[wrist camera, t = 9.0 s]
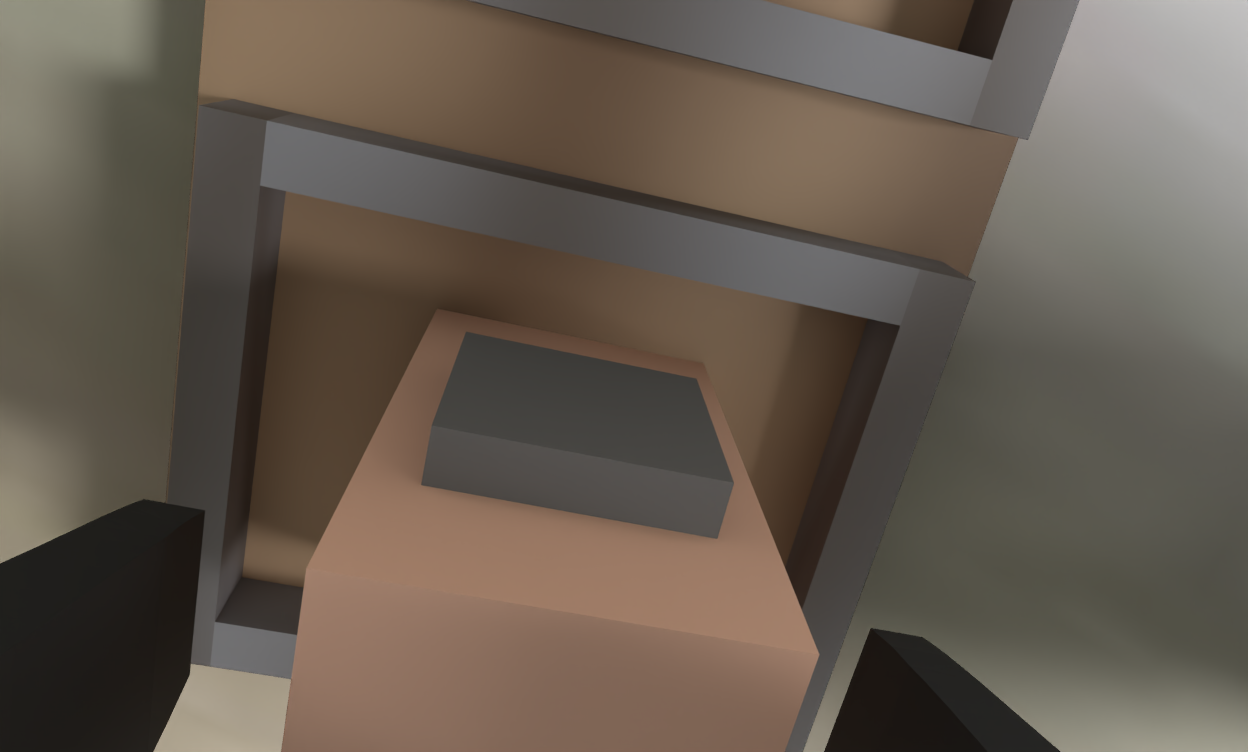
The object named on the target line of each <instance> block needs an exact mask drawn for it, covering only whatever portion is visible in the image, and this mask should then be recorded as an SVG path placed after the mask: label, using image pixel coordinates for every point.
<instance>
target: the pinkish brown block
mask: <svg viewBox="0 0 1248 752" xmlns="http://www.w3.org/2000/svg"><path fill="white" fill-rule="evenodd" d="M818 657H819V652H818V650H817V647H816V645H815V642H814V640H813V637H812V635H811V632H810V630H809V627H808V625H807V622H806V620H805V617H804V615H803V612H802V610H801V607H800V605H799V602H798V599H797V597H796V594H795V592H794V589H793V587H792V584H791V582H790V579H789V577H788V574H787V572H786V569H785V567H784V564H783V562H782V559H781V557H780V554H779V552H778V549H777V547H776V544H775V542H774V539H773V537H772V534H771V532H770V529H769V527H768V524H767V522H766V519H765V517H764V514H763V512H762V509H761V506H760V504H759V501H758V499H757V496H756V494H755V491H754V489H753V486H752V484H751V481H750V479H749V476H748V474H747V471H746V469H745V466H744V464H743V461H742V459H741V456H740V454H739V451H738V449H737V446H736V444H735V441H734V439H733V436H732V434H731V431H730V429H729V426H728V424H727V421H726V419H725V416H724V413H723V411H722V408H721V406H720V403H719V401H718V398H717V396H716V393H715V391H714V388H713V386H712V383H711V381H710V378H709V376H708V373H707V371H706V368H705V366H704V363H699V362H694V361H689V360H684V359H679V358H675V357H670V356H665V355H660V354H655V353H650V352H645V351H641V350H636V349H631V348H626V347H621V346H616V345H611V344H606V343H602V342H597V341H592V340H587V339H582V338H577V337H572V336H568V335H563V334H558V333H553V332H548V331H543V330H538V329H534V328H529V327H524V326H519V325H514V324H509V323H504V322H500V321H495V320H490V319H485V318H480V317H475V316H470V315H466V314H461V313H456V312H451V311H446V310H441V309H437V310H436V312H435V314H434V316H433V318H432V320H431V322H430V324H429V326H428V328H427V330H426V332H425V334H424V336H423V338H422V340H421V342H420V344H419V346H418V348H417V350H416V352H415V354H414V356H413V358H412V359H411V361H410V363H409V365H408V367H407V369H406V371H405V373H404V375H403V377H402V379H401V381H400V383H399V385H398V387H397V389H396V391H395V393H394V395H393V397H392V399H391V401H390V403H389V405H388V407H387V409H386V411H385V413H384V415H383V417H382V419H381V421H380V423H379V425H378V427H377V429H376V431H375V433H374V435H373V437H372V439H371V441H370V443H369V445H368V447H367V449H366V451H365V453H364V455H363V457H362V459H361V461H360V463H359V465H358V467H357V469H356V471H355V473H354V475H353V477H352V479H351V481H350V483H349V485H348V487H347V489H346V491H345V493H344V494H343V496H342V498H341V500H340V502H339V504H338V506H337V508H336V510H335V512H334V514H333V516H332V518H331V520H330V522H329V524H328V526H327V528H326V530H325V532H324V534H323V536H322V538H321V540H320V542H319V544H318V546H317V548H316V550H315V552H314V554H313V556H312V558H311V560H310V562H309V564H308V566H307V568H306V574H305V582H304V589H303V596H302V604H301V611H300V618H299V626H298V633H297V640H296V648H295V655H294V662H293V669H292V677H291V684H290V691H289V699H288V706H287V713H286V721H285V728H284V735H283V743H282V750H281V752H785V749H786V747H787V744H788V741H789V738H790V735H791V733H792V730H793V727H794V724H795V721H796V719H797V716H798V713H799V710H800V707H801V705H802V702H803V699H804V696H805V694H806V691H807V688H808V685H809V682H810V680H811V677H812V674H813V671H814V668H815V666H816V663H817V660H818Z"/></svg>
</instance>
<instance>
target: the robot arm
mask: <svg viewBox="0 0 1248 752" xmlns="http://www.w3.org/2000/svg"><path fill="white" fill-rule="evenodd" d="M204 518H205V510H201V509H196V508H190V507H184V506H179V505H173V504H167V503H162V502H156V501H150V500H145V499H143V500H141V501H138V502H135V503H133V504H130V505H128V506H125V507H123V508H121V509H118V510H116V511H114V512H111V513H109V514H107V515H105V516H103V517H100V518H98V519H96V520H94V521H92V522H89V523H87V524H85V525H83V526H81V527H79V528H77V529H74V530H72V531H70V532H68V533H66V534H64V535H62V536H59V537H57V538H55V539H53V540H51V541H49V542H47V543H44V544H42V545H40V546H38V547H36V548H34V549H31V550H29V551H27V552H25V553H23V554H20V555H18V556H16V557H14V558H12V559H9V560H7V561H5V562H3V563H1V564H0V752H153V751H154V749H155V747H156V745H157V743H158V741H159V739H160V737H161V735H162V733H163V731H164V729H165V727H166V724H167V722H168V720H169V718H170V716H171V714H172V712H173V709H174V707H175V705H176V703H177V701H178V699H179V697H180V694H181V692H182V690H183V688H184V686H185V684H186V682H187V679H188V677H189V675H190V665H191V654H192V644H193V633H194V623H195V613H196V602H197V592H198V581H199V571H200V560H201V550H202V539H203V529H204ZM824 752H1060V751H1059V750H1058V749H1057V748H1056V747H1055V746H1053V745H1052V744H1051V743H1050V742H1049V741H1047V740H1046V739H1045V738H1044V737H1043V736H1042V735H1041V734H1039V733H1038V732H1037V731H1036V730H1035V729H1034V728H1032V727H1031V726H1030V725H1029V724H1028V723H1027V722H1025V721H1024V720H1023V719H1022V718H1021V717H1020V716H1019V715H1017V714H1016V713H1015V712H1014V711H1013V710H1012V709H1010V708H1009V707H1008V706H1007V705H1006V704H1005V703H1004V702H1002V701H1001V700H1000V699H999V698H998V697H997V696H995V695H994V694H993V693H992V692H991V691H990V690H988V689H987V688H986V687H985V686H984V685H983V684H981V683H980V682H979V681H978V680H977V679H976V678H974V677H973V676H972V675H971V674H970V673H968V672H967V671H966V670H965V669H964V668H962V667H961V666H960V665H959V664H957V663H956V662H955V661H954V660H953V659H951V658H950V657H949V656H948V655H946V654H945V653H944V652H942V651H941V650H940V649H938V648H937V647H936V646H934V645H933V644H931V643H930V642H929V641H927V640H926V639H924V638H923V637H918V636H913V635H907V634H901V633H896V632H890V631H884V630H879V629H873V628H871V629H870V632H869V634H868V637H867V640H866V642H865V645H864V648H863V650H862V653H861V656H860V658H859V661H858V664H857V666H856V669H855V671H854V674H853V677H852V679H851V682H850V685H849V687H848V690H847V693H846V695H845V698H844V701H843V703H842V706H841V709H840V711H839V714H838V716H837V719H836V722H835V724H834V727H833V730H832V732H831V735H830V738H829V740H828V743H827V746H826V748H825V751H824Z"/></svg>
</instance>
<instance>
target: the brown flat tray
mask: <svg viewBox="0 0 1248 752" xmlns="http://www.w3.org/2000/svg"><path fill="white" fill-rule="evenodd" d="M1078 3H1079V0H206V1H205V13H204V26H203V38H202V51H201V64H200V76H199V89H198V101H197V114H196V126H195V139H194V151H193V164H192V177H191V189H190V202H189V214H188V227H187V239H186V252H185V265H184V277H183V290H182V302H181V315H180V327H179V340H178V353H177V365H176V378H175V390H174V403H173V415H172V428H171V441H170V453H169V466H168V478H167V491H166V503H167V504H173V505H179V506H184V507H190V508H196V509H201V510H205V518H204V529H203V539H202V550H201V560H200V571H199V581H198V592H197V602H196V613H195V623H194V633H193V644H192V654H191V664H197V665H204V666H210V667H216V668H223V669H229V670H236V671H242V672H249V673H255V674H262V675H268V676H275V677H281V678H288V679H291V677H292V669H293V662H294V655H295V648H296V640H297V633H298V626H299V618H300V611H301V604H302V596H303V589H304V582H305V574H306V568H307V566H308V564H309V562H310V560H311V558H312V556H313V554H314V552H315V550H316V548H317V546H318V544H319V542H320V540H321V538H322V536H323V534H324V532H325V530H326V528H327V526H328V524H329V522H330V520H331V518H332V516H333V514H334V512H335V510H336V508H337V506H338V504H339V502H340V500H341V498H342V496H343V494H344V493H345V491H346V489H347V487H348V485H349V483H350V481H351V479H352V477H353V475H354V473H355V471H356V469H357V467H358V465H359V463H360V461H361V459H362V457H363V455H364V453H365V451H366V449H367V447H368V445H369V443H370V441H371V439H372V437H373V435H374V433H375V431H376V429H377V427H378V425H379V423H380V421H381V419H382V417H383V415H384V413H385V411H386V409H387V407H388V405H389V403H390V401H391V399H392V397H393V395H394V393H395V391H396V389H397V387H398V385H399V383H400V381H401V379H402V377H403V375H404V373H405V371H406V369H407V367H408V365H409V363H410V361H411V359H412V358H413V356H414V354H415V352H416V350H417V348H418V346H419V344H420V342H421V340H422V338H423V336H424V334H425V332H426V330H427V328H428V326H429V324H430V322H431V320H432V318H433V316H434V314H435V312H436V310H437V309H441V310H446V311H451V312H456V313H461V314H466V315H470V316H475V317H480V318H485V319H490V320H495V321H500V322H504V323H509V324H514V325H519V326H524V327H529V328H534V329H538V330H543V331H548V332H553V333H558V334H563V335H568V336H572V337H577V338H582V339H587V340H592V341H597V342H602V343H606V344H611V345H616V346H621V347H626V348H631V349H636V350H641V351H645V352H650V353H655V354H660V355H665V356H670V357H675V358H679V359H684V360H689V361H694V362H699V363H704V366H705V368H706V371H707V373H708V376H709V378H710V381H711V383H712V386H713V388H714V391H715V393H716V396H717V398H718V401H719V403H720V406H721V408H722V411H723V413H724V416H725V419H726V421H727V424H728V426H729V429H730V431H731V434H732V436H733V439H734V441H735V444H736V446H737V449H738V451H739V454H740V456H741V459H742V461H743V464H744V466H745V469H746V471H747V474H748V476H749V479H750V481H751V484H752V486H753V489H754V491H755V494H756V496H757V499H758V501H759V504H760V506H761V509H762V512H763V514H764V517H765V519H766V522H767V524H768V527H769V529H770V532H771V534H772V537H773V539H774V542H775V544H776V547H777V549H778V552H779V554H780V557H781V559H782V562H783V564H784V567H785V569H786V572H787V574H788V577H789V579H790V582H791V584H792V587H793V589H794V592H795V594H796V597H797V599H798V602H799V605H800V607H801V610H802V612H803V615H804V617H805V620H806V622H807V625H808V627H809V630H810V632H811V635H812V637H813V640H814V642H815V645H816V647H817V650H818V652H819V657H818V660H817V663H816V666H815V668H814V671H813V674H812V677H811V680H810V682H809V685H808V688H807V691H806V694H805V696H804V699H803V702H802V705H801V707H800V710H799V713H798V716H797V719H796V721H795V724H794V727H793V730H792V733H791V735H790V738H789V741H788V744H787V747H786V749H785V752H803V750H804V747H805V744H806V742H807V739H808V736H809V733H810V731H811V728H812V725H813V723H814V720H815V717H816V714H817V712H818V709H819V706H820V704H821V701H822V698H823V695H824V693H825V690H826V687H827V685H828V682H829V679H830V676H831V674H832V671H833V668H834V666H835V663H836V660H837V657H838V655H839V652H840V649H841V647H842V644H843V641H844V638H845V636H846V633H847V630H848V628H849V625H850V622H851V619H852V617H853V614H854V611H855V608H856V606H857V603H858V600H859V598H860V595H861V592H862V589H863V587H864V584H865V581H866V579H867V576H868V573H869V570H870V568H871V565H872V562H873V560H874V557H875V554H876V551H877V549H878V546H879V543H880V541H881V538H882V535H883V532H884V530H885V527H886V524H887V522H888V519H889V516H890V513H891V511H892V508H893V505H894V503H895V500H896V497H897V494H898V492H899V489H900V486H901V484H902V481H903V478H904V475H905V473H906V470H907V467H908V465H909V462H910V459H911V456H912V454H913V451H914V448H915V445H916V443H917V440H918V437H919V435H920V432H921V429H922V426H923V424H924V421H925V418H926V416H927V413H928V410H929V407H930V405H931V402H932V399H933V397H934V394H935V391H936V388H937V386H938V383H939V380H940V378H941V375H942V372H943V369H944V367H945V364H946V361H947V359H948V356H949V353H950V350H951V348H952V345H953V342H954V340H955V337H956V334H957V331H958V329H959V326H960V323H961V321H962V318H963V315H964V312H965V310H966V307H967V304H968V302H969V299H970V296H971V293H972V291H973V288H974V285H975V281H973V280H972V279H970V278H968V275H969V272H970V269H971V267H972V264H973V261H974V258H975V256H976V253H977V250H978V247H979V245H980V242H981V239H982V236H983V234H984V231H985V228H986V225H987V223H988V220H989V217H990V214H991V212H992V209H993V206H994V204H995V201H996V198H997V195H998V193H999V190H1000V187H1001V184H1002V182H1003V179H1004V176H1005V173H1006V171H1007V168H1008V165H1009V162H1010V160H1011V157H1012V154H1013V151H1014V149H1015V146H1016V143H1017V140H1018V138H1022V139H1026V140H1028V139H1029V136H1030V133H1031V130H1032V128H1033V125H1034V122H1035V119H1036V117H1037V114H1038V111H1039V109H1040V106H1041V103H1042V100H1043V98H1044V95H1045V92H1046V90H1047V87H1048V84H1049V81H1050V79H1051V76H1052V73H1053V71H1054V68H1055V65H1056V62H1057V60H1058V57H1059V54H1060V52H1061V49H1062V46H1063V43H1064V41H1065V38H1066V35H1067V33H1068V30H1069V27H1070V24H1071V22H1072V19H1073V16H1074V14H1075V11H1076V8H1077V5H1078Z"/></svg>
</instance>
